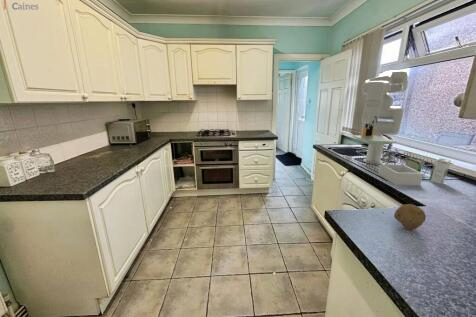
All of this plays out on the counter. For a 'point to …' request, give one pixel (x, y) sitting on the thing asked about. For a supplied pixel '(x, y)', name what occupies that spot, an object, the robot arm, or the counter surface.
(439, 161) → the syrup box
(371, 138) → the lid
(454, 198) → the counter surface
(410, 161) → the food container
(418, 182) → the tub
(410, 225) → the natural sponge
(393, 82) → the robot arm
